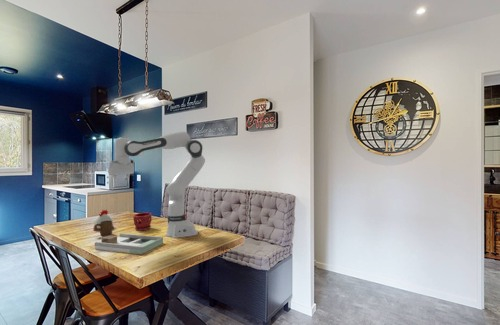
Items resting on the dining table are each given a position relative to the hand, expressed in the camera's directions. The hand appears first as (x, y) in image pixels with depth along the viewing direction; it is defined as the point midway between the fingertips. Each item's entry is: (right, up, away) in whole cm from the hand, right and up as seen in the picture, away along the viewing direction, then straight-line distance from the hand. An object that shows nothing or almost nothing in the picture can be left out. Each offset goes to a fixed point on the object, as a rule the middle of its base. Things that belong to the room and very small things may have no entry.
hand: (121, 181), depth 168 cm
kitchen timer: (-30, -41, +30) cm, 59 cm away
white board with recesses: (+12, -40, -13) cm, 44 cm away
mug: (-20, -41, +12) cm, 46 cm away
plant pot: (+2, -40, +27) cm, 49 cm away
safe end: (+24, -40, -17) cm, 49 cm away
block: (0, -38, -14) cm, 40 cm away
